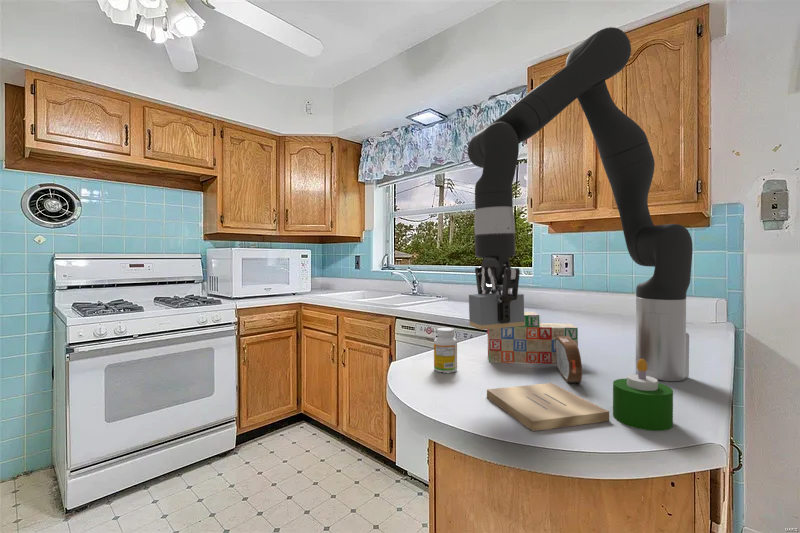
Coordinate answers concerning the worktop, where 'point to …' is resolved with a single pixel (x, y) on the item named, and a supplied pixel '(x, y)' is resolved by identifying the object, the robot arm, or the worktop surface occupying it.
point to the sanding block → (494, 311)
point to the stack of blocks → (528, 341)
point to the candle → (643, 401)
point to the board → (546, 406)
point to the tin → (568, 359)
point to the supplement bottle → (445, 351)
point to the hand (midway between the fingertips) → (496, 320)
